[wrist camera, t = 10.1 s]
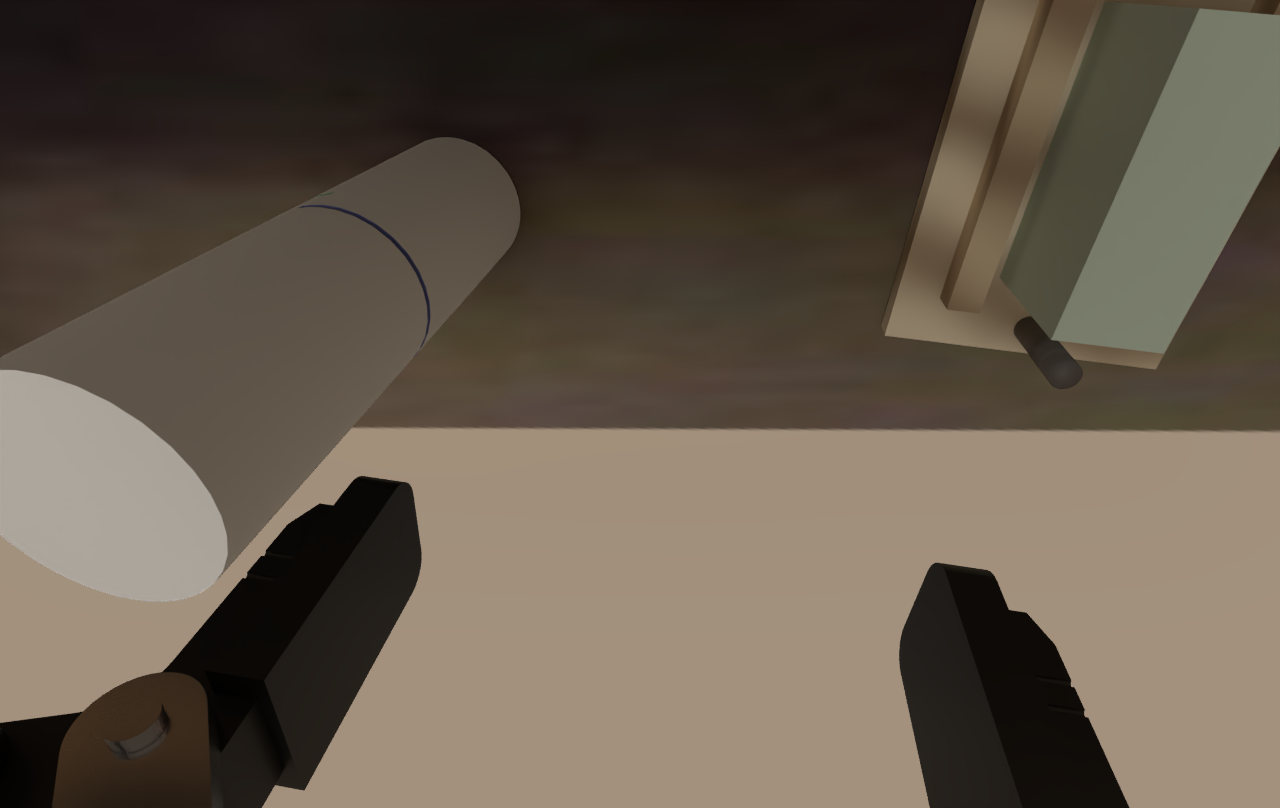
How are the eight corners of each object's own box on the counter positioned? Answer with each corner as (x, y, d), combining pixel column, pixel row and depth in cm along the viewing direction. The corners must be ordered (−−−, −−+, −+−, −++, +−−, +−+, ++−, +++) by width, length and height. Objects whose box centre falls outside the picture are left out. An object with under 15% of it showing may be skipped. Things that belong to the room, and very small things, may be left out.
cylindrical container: (524, 272, 39) (261, 617, 18) (404, 262, 40) (18, 584, 19) (516, 141, 35) (170, 386, 14) (384, 133, 36) (-132, 354, 15)
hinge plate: (1014, -129, 27) (1077, -154, 22) (1392, -102, 26) (1554, -121, 21) (881, 325, 38) (902, 381, 33) (1144, 358, 37) (1209, 421, 32)
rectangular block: (1104, 1, 28) (1199, 8, 22) (1250, 14, 27) (1387, 24, 22) (999, 277, 34) (1051, 340, 28) (1116, 291, 34) (1193, 357, 28)
